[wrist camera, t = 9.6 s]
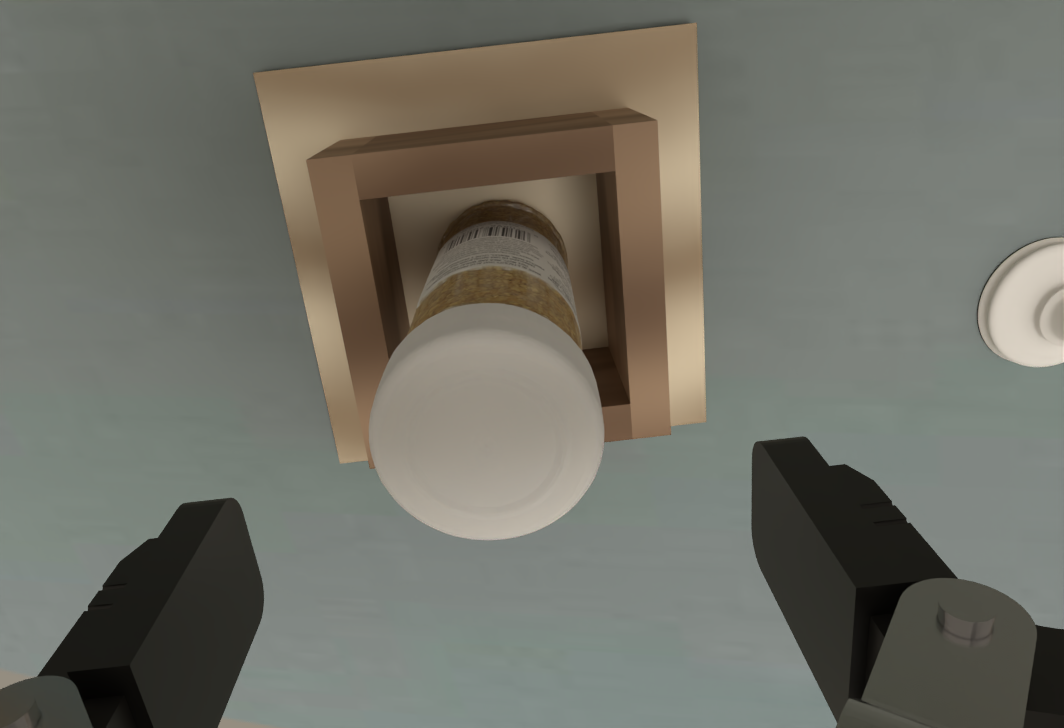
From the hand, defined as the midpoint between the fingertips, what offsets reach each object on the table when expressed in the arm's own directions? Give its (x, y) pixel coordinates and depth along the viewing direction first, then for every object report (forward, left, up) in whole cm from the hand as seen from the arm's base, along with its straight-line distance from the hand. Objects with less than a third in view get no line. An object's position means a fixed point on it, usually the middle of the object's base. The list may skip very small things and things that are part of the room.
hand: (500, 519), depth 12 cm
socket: (0, 0, -17) cm, 17 cm away
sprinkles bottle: (0, 0, -16) cm, 16 cm away
